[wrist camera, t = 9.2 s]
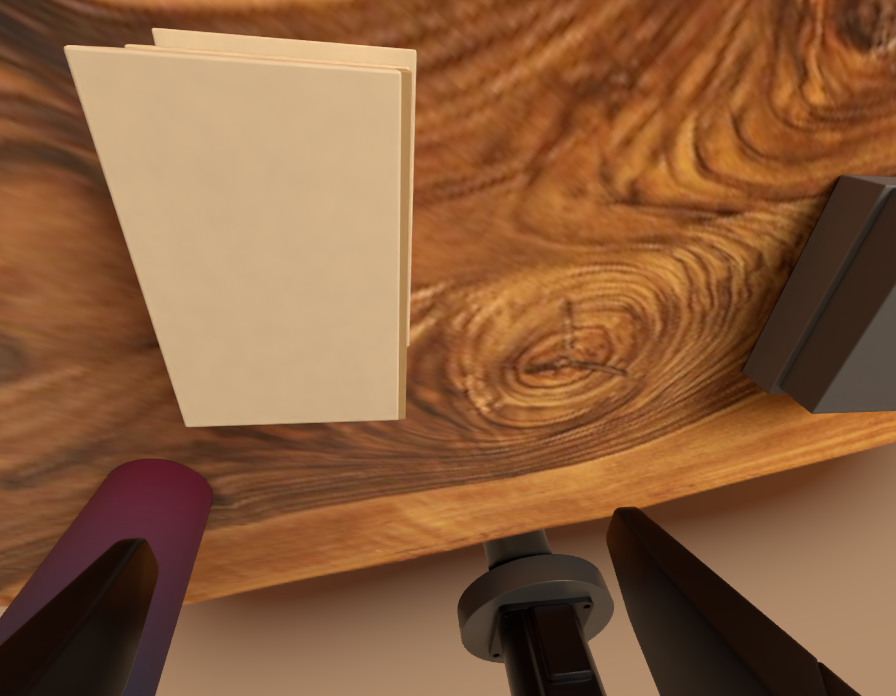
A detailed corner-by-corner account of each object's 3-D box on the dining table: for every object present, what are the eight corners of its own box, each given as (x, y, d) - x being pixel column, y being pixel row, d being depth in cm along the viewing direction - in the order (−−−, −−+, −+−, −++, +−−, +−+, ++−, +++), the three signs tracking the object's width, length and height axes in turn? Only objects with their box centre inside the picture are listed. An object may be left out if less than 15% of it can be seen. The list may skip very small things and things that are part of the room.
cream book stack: (406, 323, 20) (412, 376, 16) (238, 323, 19) (207, 380, 15) (412, 51, 14) (422, 48, 11) (178, 31, 13) (111, 21, 10)
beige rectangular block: (401, 364, 16) (405, 420, 14) (217, 367, 15) (184, 428, 13) (405, 69, 11) (412, 70, 9) (136, 48, 10) (59, 44, 8)
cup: (55, 457, 21) (-415, 1032, 9) (201, 434, 22) (-47, 953, 9) (125, 543, 25) (-131, 1031, 12) (249, 522, 25) (121, 976, 13)
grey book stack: (862, 369, 25) (937, 417, 22) (741, 371, 24) (799, 422, 21) (989, 181, 20) (1113, 206, 16) (840, 173, 19) (941, 198, 15)
